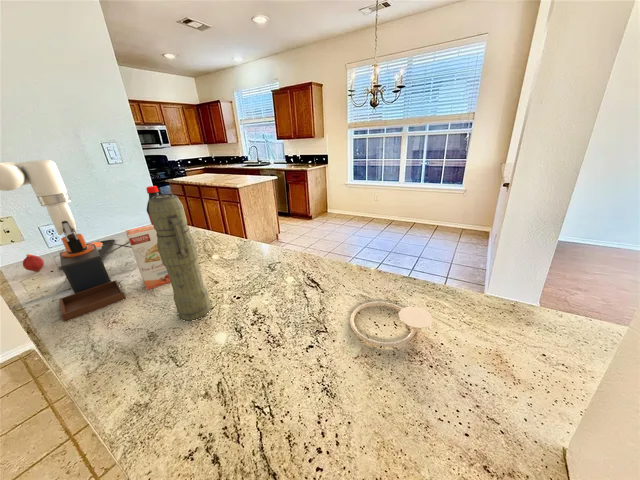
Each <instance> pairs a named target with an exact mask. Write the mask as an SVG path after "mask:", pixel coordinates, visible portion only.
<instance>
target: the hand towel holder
mask: <svg viewBox="0 0 640 480" xmlns="http://www.w3.org/2000/svg"><path fill="white" fill-rule="evenodd" d="M372 305H377V306H381V305H385V306H384V307H388V306H390V307H389V308H392V307H394V308H393V309H395V308H396V309H395V310H397V309H398V311H399V312H398V313H397V314H398V318H399V320H400V321H401V322H402V323H404V324H405V325H406V326H408V327H409V329H410V333H409V334H408V335H407V337H405V338H403V339H401V340H397V341H389V342H388V341H387V342H386V341H385V342H384V341H377V340H374V339H371V338H369V337H367V336H365V335H364V334H362V333H360V332H359V331H358V329H357V327H356V326H355V325H356V324H355V317H356V315H357V313H359V312H360V311H361V310H363V309H365V308H368V307H367V306H369V307H373V306H372ZM433 322H434V318H433V316H432V314H431V312H429V311H427V310H426V309H424V308H422V307H419V306H412V305H410V306H405V307H401V306H399V305H397V304H395V303H391V302H387V301H371V302H370V301H369V302H365V303H363V304H361V305H359V306H357V307H356V308H355V309H354V310H353V311H352V313H351V315H350V319H349V324H350V327H351V329H352V331H353V332H354V334H355V335H356V336H357V337H358V336H359V337H360V338H359V337H358V338H359V339H360V340H362V339H363V340H362V341H364V342H365V343H367V342H368V343H367V344H370V343H371V344H370V345H373V344H374V345H373V346H376V345H377V346H376V347H381V346H384V347H383V348H393V347H392V346H395V347H399V346H402V345H404V344H406V343H408V342H409V341H411V340H412V338H414V336H415V335H416V333H417V332H418V331H419V330H420V329H423V328H426V327H430V326H431V325H432V324H433ZM398 345H399V346H398Z"/></svg>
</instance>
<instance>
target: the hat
mask: <svg viewBox="0 0 640 480" xmlns="http://www.w3.org/2000/svg"><path fill="white" fill-rule="evenodd" d="M76 235H77V238H78V239H79V240H80V242H81V244H82V247H83V249H84V250H82V251H78V252H74V253H72V252H71V250H70V247H69V245H68V243H67V242H68V241H67V239H66V237H65V236H63V237H61V242H62V245H63V246H64V248H65V250H64V251H62V252H63V253H62V254H61V255H62V257H74V256H79V255H82V254H85V253H88V252H90V251H92V250H93V249H94V246H93V245H86V244H87V243H86V240H85V238H84V235H83V234H82V233H76Z"/></svg>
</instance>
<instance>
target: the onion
mask: <svg viewBox="0 0 640 480" xmlns="http://www.w3.org/2000/svg"><path fill="white" fill-rule="evenodd" d="M25 256H26V257H25V258H24V259H23V261H22V267H23V268H24V269H25V270H27V271H29V272H35V273H38V272H40V271H41V270H42V269H43V267H44V265H45V261H44V259H43V258H42V257H40V256H38V255H35V254H31V253H28V254H26V255H25Z"/></svg>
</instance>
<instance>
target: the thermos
mask: <svg viewBox="0 0 640 480" xmlns="http://www.w3.org/2000/svg"><path fill="white" fill-rule="evenodd" d="M148 201H149V213H150V216H151V219H152V222H153V226H154V229H155V230H156V232H157V234H156V235H157V248H158V251H159V254H160V257H161V260H162V263H163V265H164V266H165V267H166V269H167V272H168V275H169V278H170V282H169V283H170V285H171V288H172V291H173V301H174V304H175V308H176V311H177V312H178V314H179V318H180V320H181V319H182V320H181V321H183V320H185V321H192V320H196V319H199V318H201V317H203V316H205V315H206V314H207V313H209V311H210V310H211V311H212V305H211V297H210V295H209V290H208V288H207V287H206V286H205V283H204V279H203V275H202V270H201V268H200V267H201V266H200V263H199V260H198V258H199V252H198V248H197V244H196V241H195V237H194V236H193V234H192V233H191V232H190V228H189V226H188V220H187V216H186V215H187V214H186V212H185V208H184V205H183V203H182V201H181V199H179V197H178V195H176V194H174V193H163V194H159V195H157V196H154V197H152V198H151V199H149V198H148ZM211 311H210V312H211ZM209 314H210V313H209ZM205 317H206V316H205ZM199 320H200V319H199ZM185 321H184V322H185ZM192 322H193V321H192Z"/></svg>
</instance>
